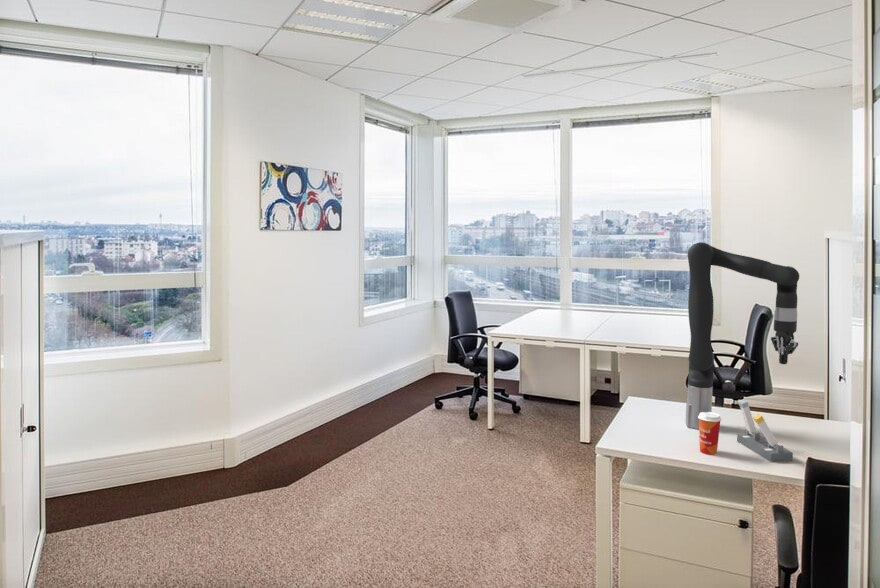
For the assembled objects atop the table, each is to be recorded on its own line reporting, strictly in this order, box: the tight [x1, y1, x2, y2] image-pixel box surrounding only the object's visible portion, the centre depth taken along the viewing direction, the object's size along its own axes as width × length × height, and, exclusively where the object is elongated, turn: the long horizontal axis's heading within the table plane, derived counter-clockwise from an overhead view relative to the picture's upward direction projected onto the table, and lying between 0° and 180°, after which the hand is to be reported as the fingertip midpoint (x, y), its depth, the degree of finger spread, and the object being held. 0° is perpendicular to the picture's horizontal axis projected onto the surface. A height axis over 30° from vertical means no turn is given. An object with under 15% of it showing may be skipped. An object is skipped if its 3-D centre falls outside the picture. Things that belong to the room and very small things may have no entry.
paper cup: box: [698, 411, 722, 456], centre depth 212 cm, size 8×8×14 cm
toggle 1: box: [738, 399, 757, 436], centre depth 218 cm, size 2×3×14 cm
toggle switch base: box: [736, 428, 794, 463], centre depth 213 cm, size 8×20×5 cm, turn 5°
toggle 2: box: [752, 414, 779, 449], centre depth 205 cm, size 2×3×14 cm
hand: (783, 363), depth 224 cm, fingers closed
